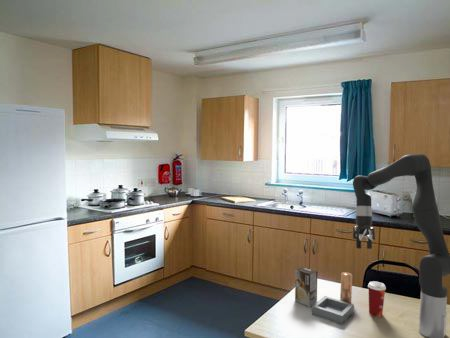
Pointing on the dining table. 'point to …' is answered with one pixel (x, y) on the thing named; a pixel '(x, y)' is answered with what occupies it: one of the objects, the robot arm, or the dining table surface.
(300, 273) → the coffee box
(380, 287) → the paper cup
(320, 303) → the grey tray
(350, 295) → the copper tin
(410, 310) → the dining table surface
